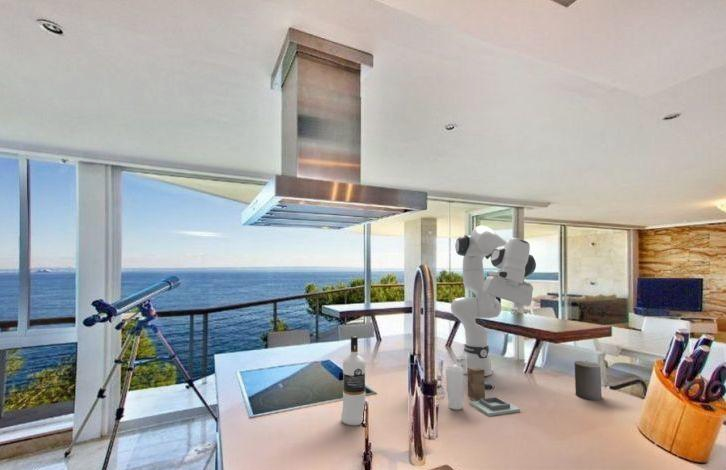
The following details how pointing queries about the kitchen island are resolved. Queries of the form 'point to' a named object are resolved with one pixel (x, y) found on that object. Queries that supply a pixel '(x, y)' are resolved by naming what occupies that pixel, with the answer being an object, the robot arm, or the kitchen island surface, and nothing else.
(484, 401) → the grey flat square tray
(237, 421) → the kitchen island surface
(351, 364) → the vodka
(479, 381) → the walnut pillar
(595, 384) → the pillar candle
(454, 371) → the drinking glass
